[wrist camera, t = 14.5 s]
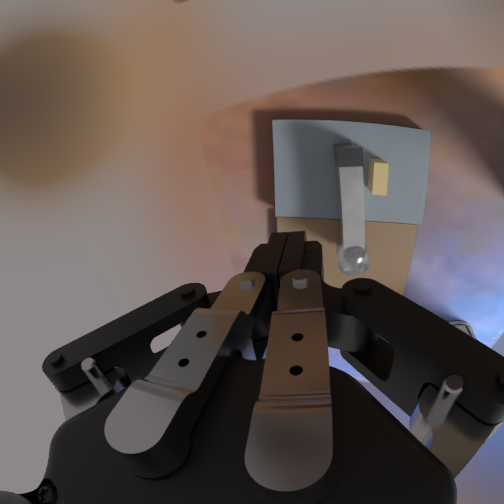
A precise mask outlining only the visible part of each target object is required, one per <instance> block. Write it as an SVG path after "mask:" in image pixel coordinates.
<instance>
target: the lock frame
mask: <svg viewBox="0 0 504 504" xmlns="http://www.w3.org/2000/svg"><path fill="white" fill-rule="evenodd" d="M272 125H273V150H274V181H275V216H277V232H291V231H306V237H307V241H318V242H319V243H320V244H321V245H322V251H323V267H324V282H325V283H326V284H328V285H330V286H333V287H337V288H342V286H343V285H344V284H345V283H346V282H347V281H349V280H352V279H355V278H369V279H373V280H376V281H378V282H379V283H381V284H383V285H385V286H386V287H388V288H390V289H392V290H393V291H395V292H397V293H399V294H401V295H402V296H403V293H404V289H405V285H406V281H407V276H408V272H409V268H410V263H411V259H412V254H413V249H414V244H415V238H416V233H417V227H418V224H421V225H422V220H423V214H424V207H425V200H426V192H427V183H428V173H429V160H430V144H431V131H427V130H421V129H415V128H408V127H401V126H393V125H384V124H375V123H364V122H350V121H333V120H272ZM341 143H357V144H358V145H360V146H361V147H362V148H363V160H364V166H363V182H364V207H365V242H366V245H367V248H368V251H369V254H370V258H371V262H370V266H369V268H368V269H367V270H366V271H365V272H364V273H363V274H361V275H358V276H348V275H345V274H344V273H342V272H341V271H340V269H339V267H338V263H337V254H336V245H335V242H336V238H337V236H338V235H339V234H340V233H341V231H340V210H339V194H338V180H337V168H336V162H335V159H334V149H333V144H341Z"/></svg>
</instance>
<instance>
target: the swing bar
mask: <svg viewBox="0 0 504 504" xmlns="http://www.w3.org/2000/svg"><path fill="white" fill-rule="evenodd" d="M333 149H334V159H335V162H336V168H337V180H338V194H339V210H340V231H341V233H340V234H339V235H338V236H337V238H336V242H335V245H336V254H337V263H338V267H339V269H340V271H341V272H342V273H344V274H345V275H348V276H358V275H361V274H363V273H364V272H365V271H366V270H367V269H368V268H369V266H370V262H371V258H370V254H369V251H368V248H367V245H366V242H365V207H364V182H363V166H364V160H363V148H362V147H361V146H360V145H358V144H357V143H341V144H333Z"/></svg>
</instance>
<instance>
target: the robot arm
mask: <svg viewBox="0 0 504 504" xmlns="http://www.w3.org/2000/svg"><path fill="white" fill-rule="evenodd" d="M178 324H180V326H181V330H180V331H179V333H178V334H177V335H176V337H175V338H174V340H173V341H172V342H171V344H170V345H169V346H168V347H166V348H165V349H163V350H161V351H159V352H157V353H153V352H152V350H151V347H150V344H151V341H152V340H153V339H154V338H155V337H156V336H158V335H160V334H162V333H164V332H165V331H167V330H169V329H171V328H173V327H175V326H176V325H178ZM378 335H379V336H381V337H382V338H383V339H385V340H386V341H387V342H389V343H390V344H389V343H387V342H386V341H385V340H383V339H382V338H381V337H379V336H378ZM328 347H332V348H336V349H340V353H341V356H342V357H343V358H344V359H345V360H346V361H347V362H348V363H349V364H350V365H352V366H353V367H354V368H355V369H356V370H357V371H358V372H359V373H361V374H362V375H363V376H364V377H365V378H366V379H367V380H369V381H370V382H371V383H372V384H373V385H374V386H375V387H377V388H378V389H379V390H380V391H381V392H383V394H385V395H386V396H387V397H388V398H389V399H390V400H391V401H393V402H394V403H395V404H396V405H397V406H398V407H400V408H401V409H402V410H403V411H404V412H405V413H406V414H408V415H409V416H410V417H411V418H410V421H409V429H410V431H409V430H408V429H407V428H406V427H405V426H404V425H402V424H401V423H400V422H399V421H398V420H397V419H396V418H395V417H394V416H393V415H392V414H391V413H390V412H389V411H388V410H387V409H386V408H385V407H384V406H383V405H382V404H381V403H380V402H379V401H378V400H377V399H376V398H375V397H374V396H373V395H371V393H370V392H368V391H367V390H366V389H365V388H364V387H363V386H362V385H361V384H360V383H359V382H358V381H357V380H356V379H355V378H353V377H352V376H350V375H349V374H347V373H345V372H344V371H342V370H339V369H337V368H334V367H330V366H329V357H328ZM116 367H117V368H116ZM42 369H43V372H44V373H45V374H46V376H47V377H48V378H49V380H50V381H51V382H52V383H53V385H54V386H55V388H56V390H57V391H58V392H59V393H60V397H61V401H62V406H63V410H64V415H65V419H66V421H65V422H64V423H63V424H62V425H61V426H60V427H59V428H58V430H57V431H56V433H55V434H54V436H53V438H52V441H51V444H50V451H49V459H48V465H47V468H46V472H45V475H44V478H43V480H42V482H41V484H40V485H39V487H38V488H37V489H35V490H34V491H31V492H28V493H24V494H15V493H12V492H6V491H0V504H456V503H457V488H456V483H455V480H454V479H455V477H456V476H457V475H458V474H459V473H460V472H461V470H463V468H464V467H465V466H466V465H467V464H468V463H469V461H470V460H471V459H472V458H473V456H474V455H475V454H476V453H477V451H478V450H479V449H480V448H481V446H482V445H484V444H485V442H486V441H487V440H488V439H489V438H490V437H491V436H492V435H493V434H494V433H495V431H496V430H497V429H498V428H499V427H500V426H501V424H502V423H503V422H504V357H503V356H502V355H500V354H498V353H497V352H495V351H494V350H492V349H491V348H489V347H487V346H486V345H484V344H483V343H481V342H479V341H478V340H476V339H475V338H473V337H471V336H470V335H468V334H466V333H465V332H463V331H462V330H460V329H458V328H457V327H455V326H453V325H452V324H450V323H448V322H447V321H445V320H443V319H442V318H440V317H438V316H437V315H435V314H433V313H432V312H430V311H428V310H426V309H425V308H423V307H421V306H420V305H418V304H416V303H414V302H413V301H411V300H409V299H407V298H406V297H404V296H402V295H401V294H399V293H397V292H395V291H393V290H392V289H390V288H388V287H386V286H385V285H383V284H381V283H379V282H378V281H376V280H373V279H369V278H355V279H352V280H349V281H347V282H346V283H345V284H344V285H343V286H342V288H337V287H333V286H330V285H328V284H326V283H325V282H324V267H323V251H322V245H321V244H320V243H319V242H318V241H307V237H306V231H291V232H277V233H272V234H271V236H270V239H269V242H268V244H260V245H259V246H258V247H257V248H255V249H254V251H253V253H252V256H251V257H250V260H249V262H248V264H247V266H246V268H245V270H244V272H243V273H240V274H237V275H235V276H234V277H232V278H231V279H230V280H229V281H228V283H227V284H226V286H225V287H224V289H223V290H222V291H218V292H213V293H208V294H207V291H206V288H205V286H204V285H203V284H200V283H189V284H185V285H182V286H180V287H178V288H176V289H174V290H172V291H170V292H168V293H166V294H164V295H162V296H161V297H159V298H156V299H155V300H153V301H151V302H149V303H147V304H145V305H143V306H141V307H139V308H137V309H135V310H133V311H131V312H129V313H127V314H125V315H123V316H121V317H119V318H117V319H116V320H113V321H111V322H109V323H107V324H106V325H104V326H102V327H100V328H98V329H96V330H94V331H92V332H90V333H88V334H86V335H84V336H82V337H80V338H78V339H76V340H74V341H72V342H70V343H68V344H66V345H64V346H62V347H61V348H59V349H57V350H55V351H53V352H52V353H50V355H48V356H47V357H46V359H45V360H44V362H43V365H42Z"/></svg>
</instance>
